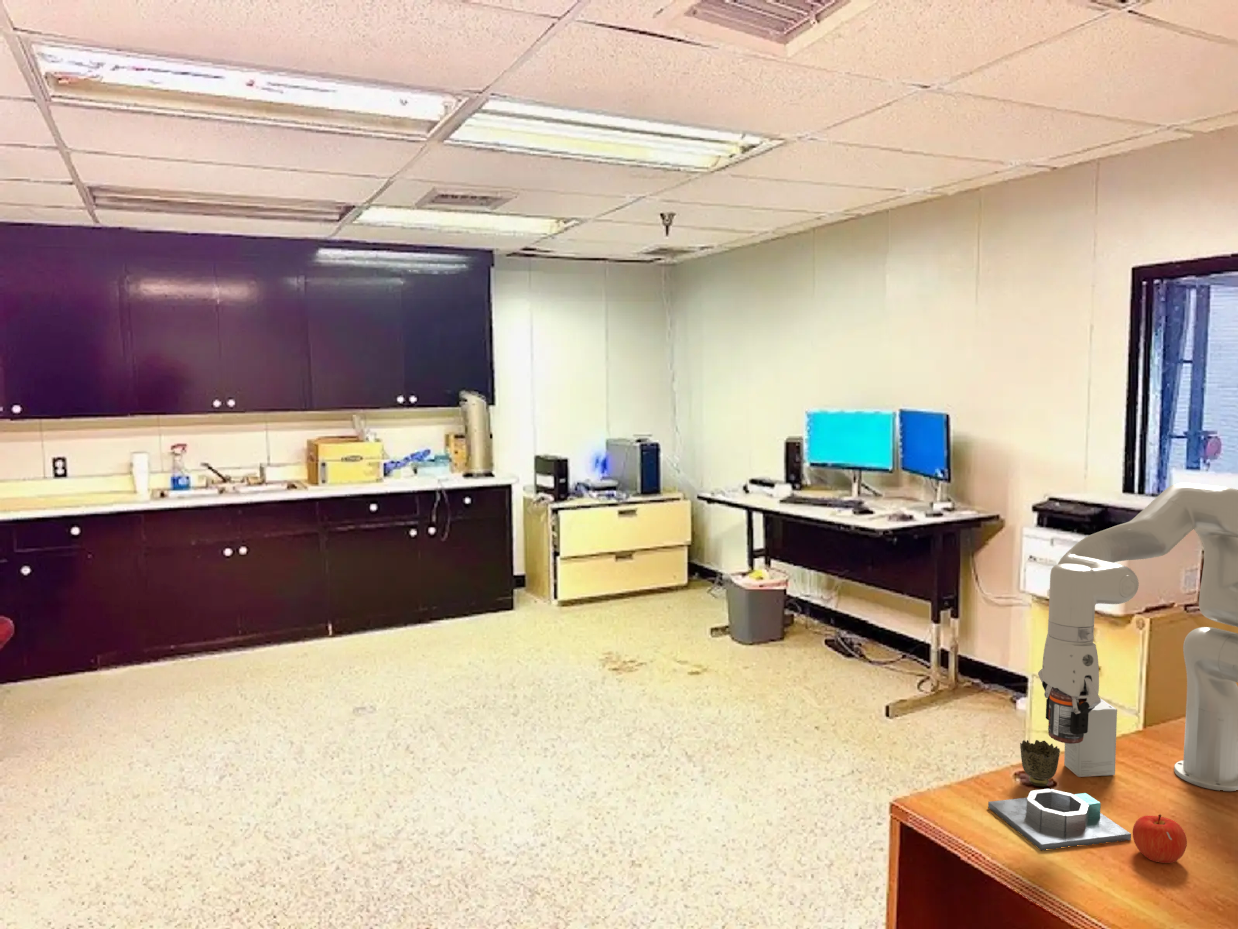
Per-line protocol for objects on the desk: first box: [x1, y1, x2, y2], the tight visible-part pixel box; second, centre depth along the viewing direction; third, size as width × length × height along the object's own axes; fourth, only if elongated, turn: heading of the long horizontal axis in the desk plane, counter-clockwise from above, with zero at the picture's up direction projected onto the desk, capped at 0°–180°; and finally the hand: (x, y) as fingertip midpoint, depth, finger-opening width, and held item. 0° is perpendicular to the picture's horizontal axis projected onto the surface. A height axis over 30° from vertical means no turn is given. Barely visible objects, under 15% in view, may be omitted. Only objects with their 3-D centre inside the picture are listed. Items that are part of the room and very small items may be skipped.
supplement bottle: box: [1047, 688, 1084, 744], centre depth 162 cm, size 6×6×11 cm
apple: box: [1132, 813, 1188, 864], centre depth 152 cm, size 8×8×8 cm
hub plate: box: [988, 788, 1132, 851], centre depth 164 cm, size 18×16×4 cm
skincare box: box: [1063, 698, 1118, 778], centre depth 185 cm, size 8×6×15 cm
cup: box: [1019, 739, 1061, 787], centre depth 180 cm, size 8×7×8 cm
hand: (1066, 725), depth 163 cm, fingers closed on supplement bottle, 6 cm apart
